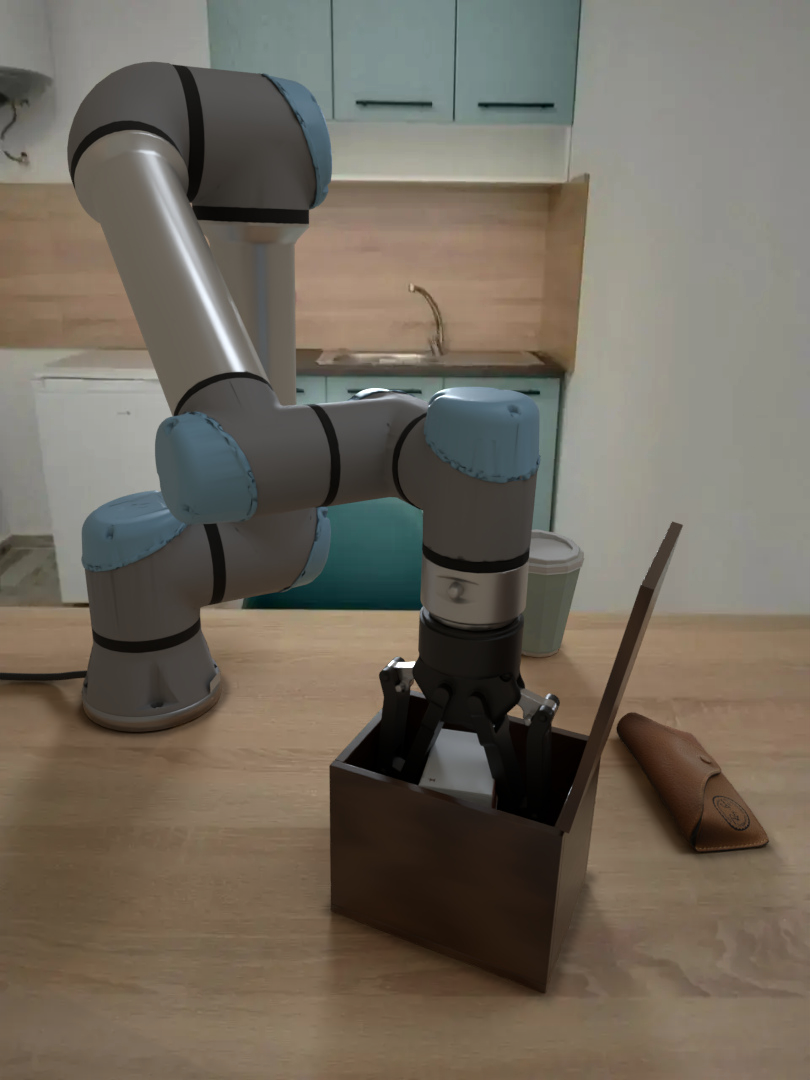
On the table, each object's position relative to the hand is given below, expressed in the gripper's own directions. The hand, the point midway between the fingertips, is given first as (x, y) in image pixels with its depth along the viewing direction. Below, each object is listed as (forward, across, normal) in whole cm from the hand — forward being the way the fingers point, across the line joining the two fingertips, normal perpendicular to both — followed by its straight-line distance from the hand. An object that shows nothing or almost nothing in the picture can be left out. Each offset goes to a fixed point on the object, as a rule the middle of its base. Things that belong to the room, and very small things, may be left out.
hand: (456, 865), depth 67 cm
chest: (+3, +1, 0) cm, 3 cm away
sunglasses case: (+3, +16, +23) cm, 28 cm away
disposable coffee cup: (+3, -6, +45) cm, 45 cm away
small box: (0, 0, 0) cm, 0 cm away
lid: (-21, +11, 0) cm, 23 cm away
